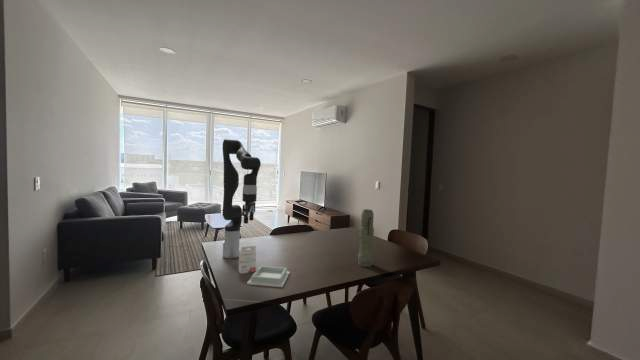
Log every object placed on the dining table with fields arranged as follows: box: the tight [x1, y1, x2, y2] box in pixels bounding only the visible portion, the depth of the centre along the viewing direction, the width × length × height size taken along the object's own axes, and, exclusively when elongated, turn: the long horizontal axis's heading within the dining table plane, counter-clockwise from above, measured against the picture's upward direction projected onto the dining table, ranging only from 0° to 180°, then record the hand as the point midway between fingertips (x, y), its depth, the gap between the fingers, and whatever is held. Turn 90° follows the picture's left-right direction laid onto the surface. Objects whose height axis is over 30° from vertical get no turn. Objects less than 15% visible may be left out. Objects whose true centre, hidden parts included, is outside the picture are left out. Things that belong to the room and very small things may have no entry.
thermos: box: [357, 208, 375, 268], centre depth 167 cm, size 9×12×35 cm
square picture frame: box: [246, 265, 291, 288], centre depth 140 cm, size 18×18×4 cm
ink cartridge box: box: [238, 245, 257, 274], centre depth 148 cm, size 9×5×15 cm, turn 117°
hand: (248, 221), depth 147 cm, fingers open, 8 cm apart
